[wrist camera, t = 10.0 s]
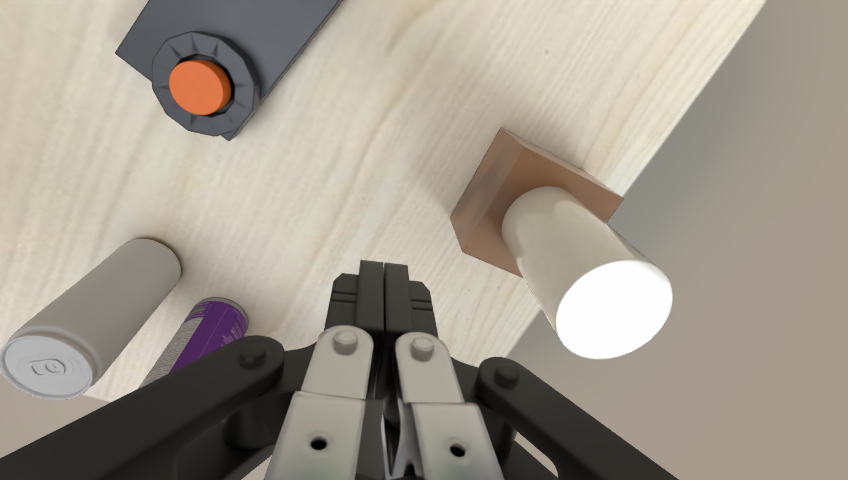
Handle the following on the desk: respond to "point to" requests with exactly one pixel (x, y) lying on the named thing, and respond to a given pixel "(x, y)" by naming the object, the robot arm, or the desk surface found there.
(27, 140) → the desk surface
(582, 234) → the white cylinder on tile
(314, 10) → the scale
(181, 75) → the button
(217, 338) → the container
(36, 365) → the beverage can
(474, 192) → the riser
